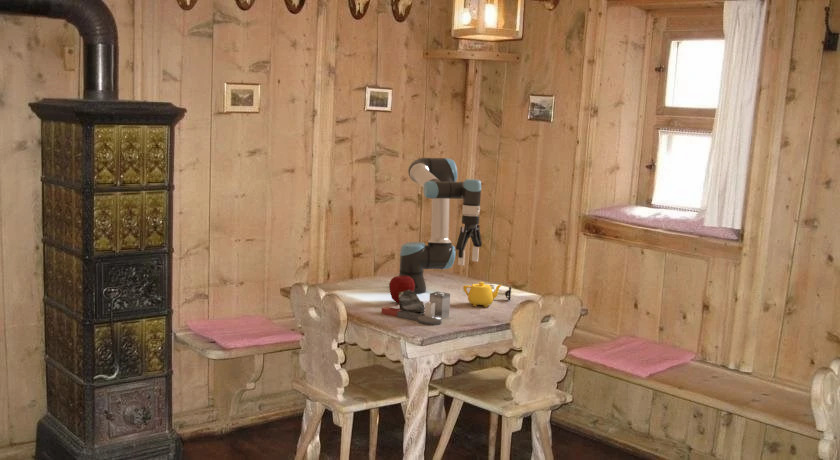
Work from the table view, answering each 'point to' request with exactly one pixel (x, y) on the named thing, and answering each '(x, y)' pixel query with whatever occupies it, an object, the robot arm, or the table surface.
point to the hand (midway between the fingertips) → (468, 263)
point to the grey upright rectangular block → (441, 303)
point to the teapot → (481, 294)
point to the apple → (400, 286)
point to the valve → (507, 293)
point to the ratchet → (416, 314)
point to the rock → (410, 302)
